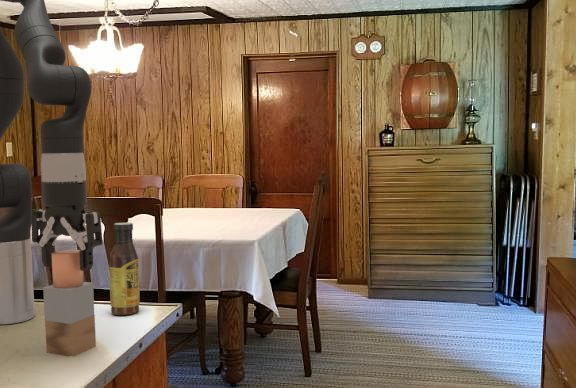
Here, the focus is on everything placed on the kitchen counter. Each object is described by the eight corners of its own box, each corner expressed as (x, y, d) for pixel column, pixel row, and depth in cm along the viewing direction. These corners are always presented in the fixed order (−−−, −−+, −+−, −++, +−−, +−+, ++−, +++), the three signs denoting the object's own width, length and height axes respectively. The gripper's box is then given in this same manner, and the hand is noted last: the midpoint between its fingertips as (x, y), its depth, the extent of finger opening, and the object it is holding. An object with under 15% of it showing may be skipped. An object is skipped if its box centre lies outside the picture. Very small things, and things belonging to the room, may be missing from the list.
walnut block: (46, 352, 108) (45, 320, 108) (70, 342, 114) (69, 311, 113) (72, 357, 106) (70, 323, 105) (95, 346, 111) (94, 314, 111)
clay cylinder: (46, 287, 108) (44, 253, 107) (67, 280, 112) (66, 248, 112) (69, 289, 106) (67, 255, 105) (89, 282, 110) (88, 250, 110)
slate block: (44, 320, 108) (43, 287, 107) (69, 311, 113) (67, 280, 113) (70, 324, 105) (69, 290, 105) (94, 314, 111) (93, 282, 110)
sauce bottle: (132, 317, 130) (128, 225, 128) (105, 315, 131) (101, 225, 129) (145, 308, 136) (142, 221, 134) (119, 307, 137) (116, 221, 135)
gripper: (17, 179, 107) (21, 269, 108) (80, 180, 101) (83, 275, 102) (49, 176, 113) (53, 261, 115) (109, 178, 108) (113, 267, 109)
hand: (67, 268), depth 109 cm, fingers open, 8 cm apart
